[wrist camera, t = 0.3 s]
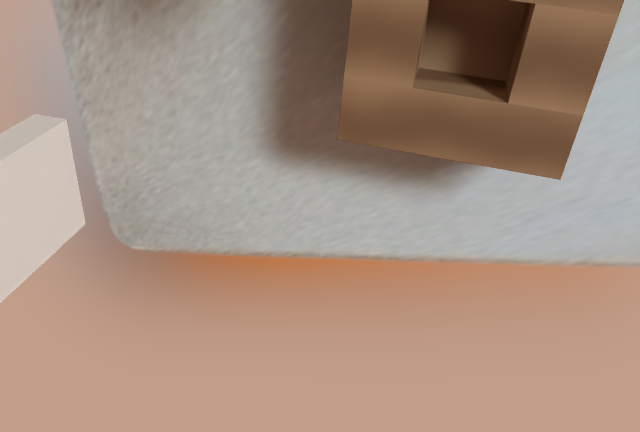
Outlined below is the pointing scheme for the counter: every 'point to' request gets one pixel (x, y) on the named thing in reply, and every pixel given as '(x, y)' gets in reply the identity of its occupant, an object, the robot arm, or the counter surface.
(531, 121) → the bore block
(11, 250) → the robot arm
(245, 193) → the counter surface
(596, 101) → the counter surface
